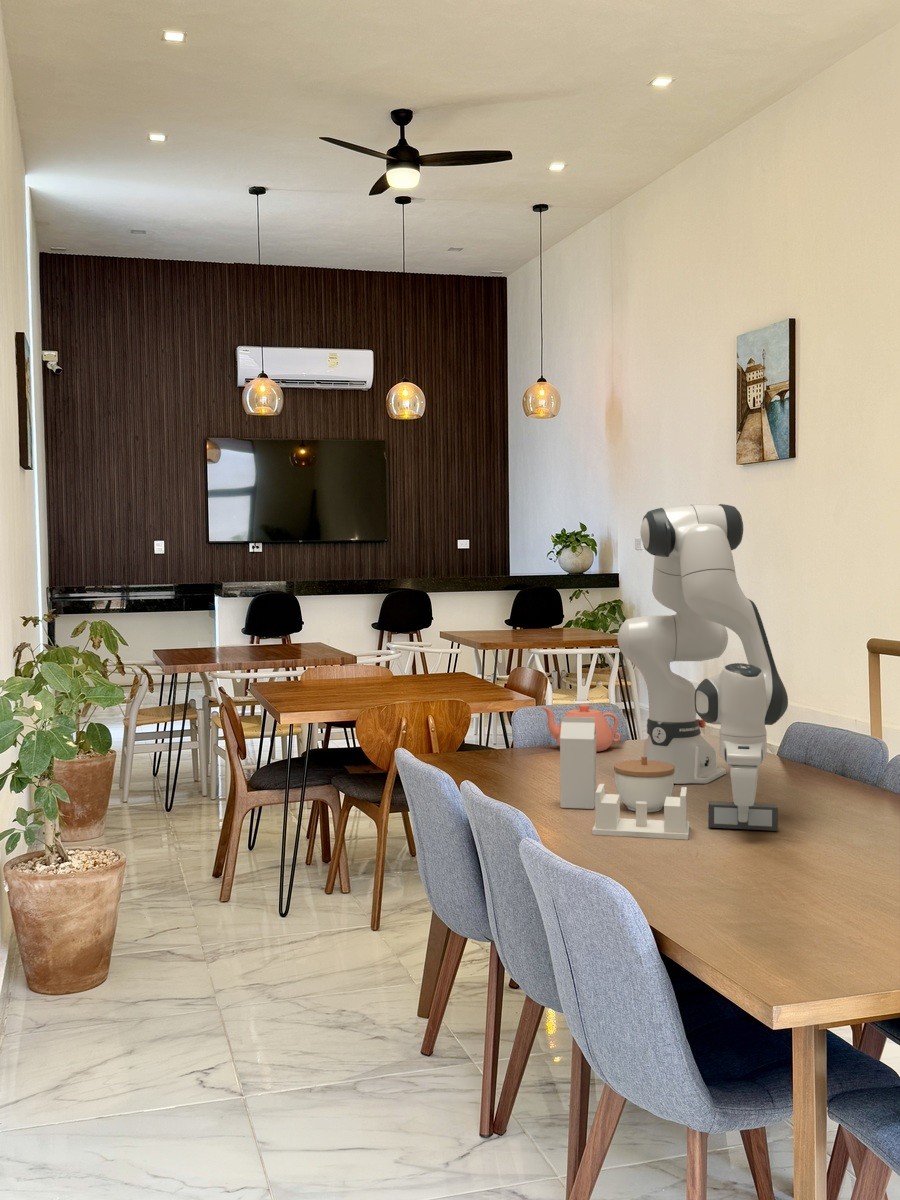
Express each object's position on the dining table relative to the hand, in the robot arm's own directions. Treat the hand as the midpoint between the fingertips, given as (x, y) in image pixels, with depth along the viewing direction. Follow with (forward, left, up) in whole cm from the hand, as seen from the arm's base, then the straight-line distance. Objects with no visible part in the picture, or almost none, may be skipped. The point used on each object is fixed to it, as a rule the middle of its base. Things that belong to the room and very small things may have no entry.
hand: (742, 818), depth 211 cm
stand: (+14, -14, -2) cm, 20 cm away
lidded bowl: (-2, -24, -2) cm, 24 cm away
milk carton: (+5, -36, -2) cm, 36 cm away
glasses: (0, 0, -2) cm, 2 cm away
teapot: (-49, -76, -2) cm, 90 cm away
